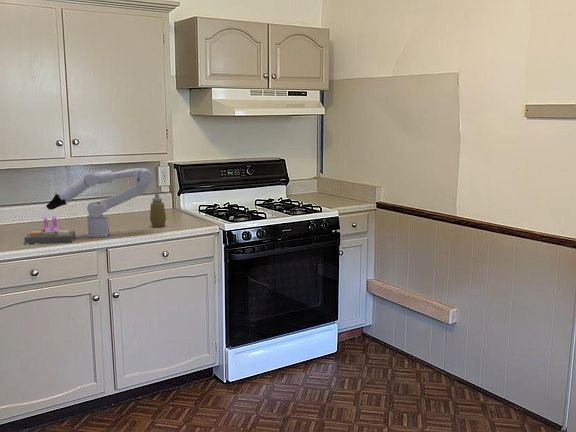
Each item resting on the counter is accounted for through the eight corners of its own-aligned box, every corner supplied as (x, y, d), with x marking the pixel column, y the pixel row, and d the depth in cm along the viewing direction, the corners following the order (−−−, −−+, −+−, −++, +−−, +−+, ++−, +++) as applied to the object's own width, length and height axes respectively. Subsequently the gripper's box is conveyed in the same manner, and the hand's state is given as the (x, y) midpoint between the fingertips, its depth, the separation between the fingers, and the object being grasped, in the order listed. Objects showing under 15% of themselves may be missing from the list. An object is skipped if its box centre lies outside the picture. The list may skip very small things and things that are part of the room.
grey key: (56, 236, 274) (56, 230, 274) (54, 238, 270) (54, 232, 269) (46, 236, 273) (46, 230, 273) (44, 238, 269) (43, 232, 269)
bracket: (44, 230, 295) (43, 216, 294) (56, 229, 298) (55, 215, 296) (47, 235, 284) (46, 221, 283) (59, 234, 286) (58, 220, 285)
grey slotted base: (75, 237, 278) (75, 231, 278) (71, 242, 269) (70, 236, 268) (30, 239, 275) (30, 232, 275) (24, 244, 266) (24, 237, 265)
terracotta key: (43, 236, 273) (42, 230, 273) (40, 239, 269) (40, 232, 268) (33, 237, 273) (32, 230, 272) (30, 239, 268) (29, 232, 268)
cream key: (70, 235, 275) (69, 229, 274) (68, 238, 271) (67, 231, 270) (60, 236, 274) (59, 229, 274) (58, 238, 270) (57, 232, 270)
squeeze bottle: (162, 228, 299) (161, 192, 295) (147, 227, 300) (145, 192, 297) (168, 224, 306) (167, 190, 303) (154, 224, 308) (152, 190, 305)
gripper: (70, 184, 282) (45, 201, 279) (66, 182, 268) (40, 200, 265) (79, 196, 283) (55, 213, 280) (76, 195, 269) (50, 213, 266)
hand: (48, 208), depth 273 cm, fingers open, 7 cm apart
